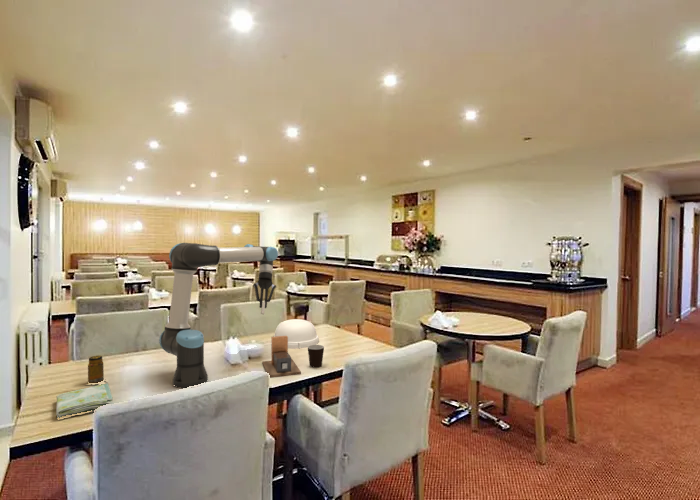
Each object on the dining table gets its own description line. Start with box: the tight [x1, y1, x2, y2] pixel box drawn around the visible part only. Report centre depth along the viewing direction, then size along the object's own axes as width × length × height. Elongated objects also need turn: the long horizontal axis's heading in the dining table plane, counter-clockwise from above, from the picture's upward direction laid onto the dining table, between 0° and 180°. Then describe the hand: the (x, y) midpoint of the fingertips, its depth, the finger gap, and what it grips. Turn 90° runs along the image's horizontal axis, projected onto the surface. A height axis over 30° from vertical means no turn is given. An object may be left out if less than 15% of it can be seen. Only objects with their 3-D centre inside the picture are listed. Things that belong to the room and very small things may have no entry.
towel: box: [55, 382, 113, 419], centre depth 158 cm, size 18×21×5 cm
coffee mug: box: [307, 344, 325, 369], centre depth 210 cm, size 12×9×10 cm
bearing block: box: [274, 352, 292, 373], centre depth 200 cm, size 7×10×7 cm
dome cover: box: [272, 318, 320, 350], centre depth 255 cm, size 32×30×14 cm
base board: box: [261, 358, 302, 379], centre depth 204 cm, size 16×22×1 cm
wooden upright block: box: [270, 336, 289, 369], centre depth 201 cm, size 8×16×14 cm, turn 20°
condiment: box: [87, 355, 105, 383], centre depth 182 cm, size 7×8×12 cm
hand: (262, 313), depth 219 cm, fingers closed
